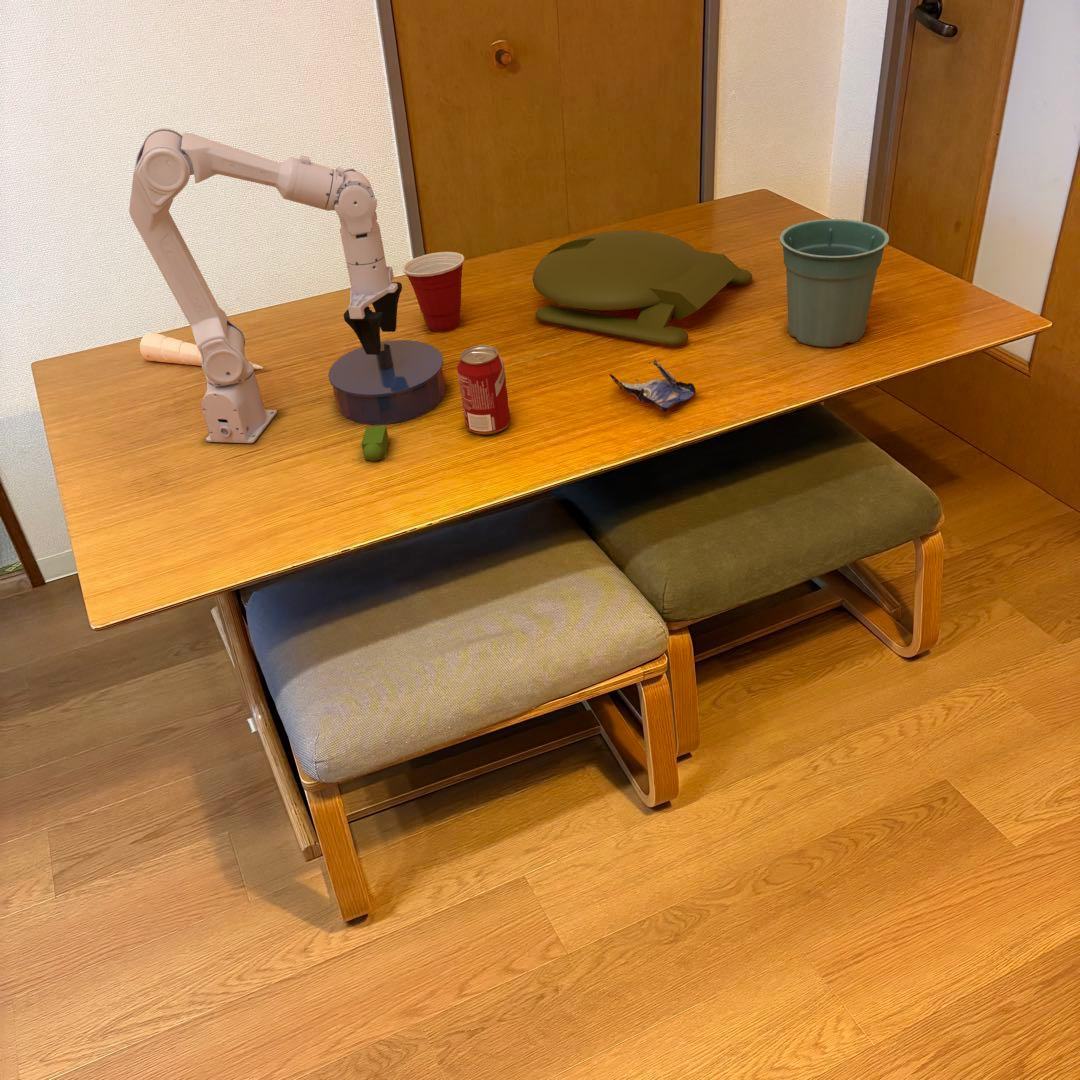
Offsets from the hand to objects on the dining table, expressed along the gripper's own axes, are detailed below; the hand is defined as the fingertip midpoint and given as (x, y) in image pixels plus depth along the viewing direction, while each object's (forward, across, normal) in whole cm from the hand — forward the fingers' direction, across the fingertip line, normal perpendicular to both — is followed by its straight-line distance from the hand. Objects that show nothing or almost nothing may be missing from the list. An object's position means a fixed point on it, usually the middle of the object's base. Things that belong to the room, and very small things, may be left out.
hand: (381, 342), depth 167 cm
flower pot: (+10, +25, -67) cm, 72 cm away
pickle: (+10, -16, -3) cm, 19 cm away
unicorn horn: (+10, +10, +38) cm, 40 cm away
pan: (+10, 0, 0) cm, 10 cm away
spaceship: (+10, +37, -33) cm, 51 cm away
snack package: (+10, +1, -42) cm, 43 cm away
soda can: (+10, -8, -18) cm, 22 cm away
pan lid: (+5, 0, 0) cm, 5 cm away
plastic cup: (+10, +26, -1) cm, 28 cm away
